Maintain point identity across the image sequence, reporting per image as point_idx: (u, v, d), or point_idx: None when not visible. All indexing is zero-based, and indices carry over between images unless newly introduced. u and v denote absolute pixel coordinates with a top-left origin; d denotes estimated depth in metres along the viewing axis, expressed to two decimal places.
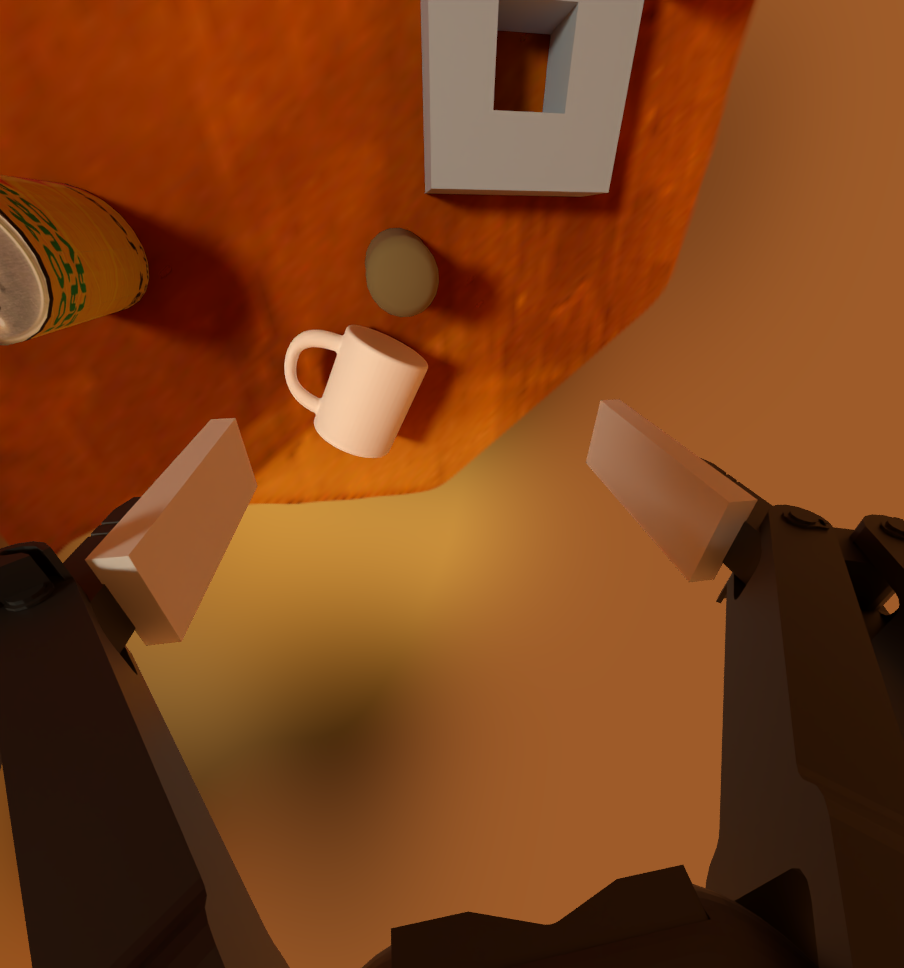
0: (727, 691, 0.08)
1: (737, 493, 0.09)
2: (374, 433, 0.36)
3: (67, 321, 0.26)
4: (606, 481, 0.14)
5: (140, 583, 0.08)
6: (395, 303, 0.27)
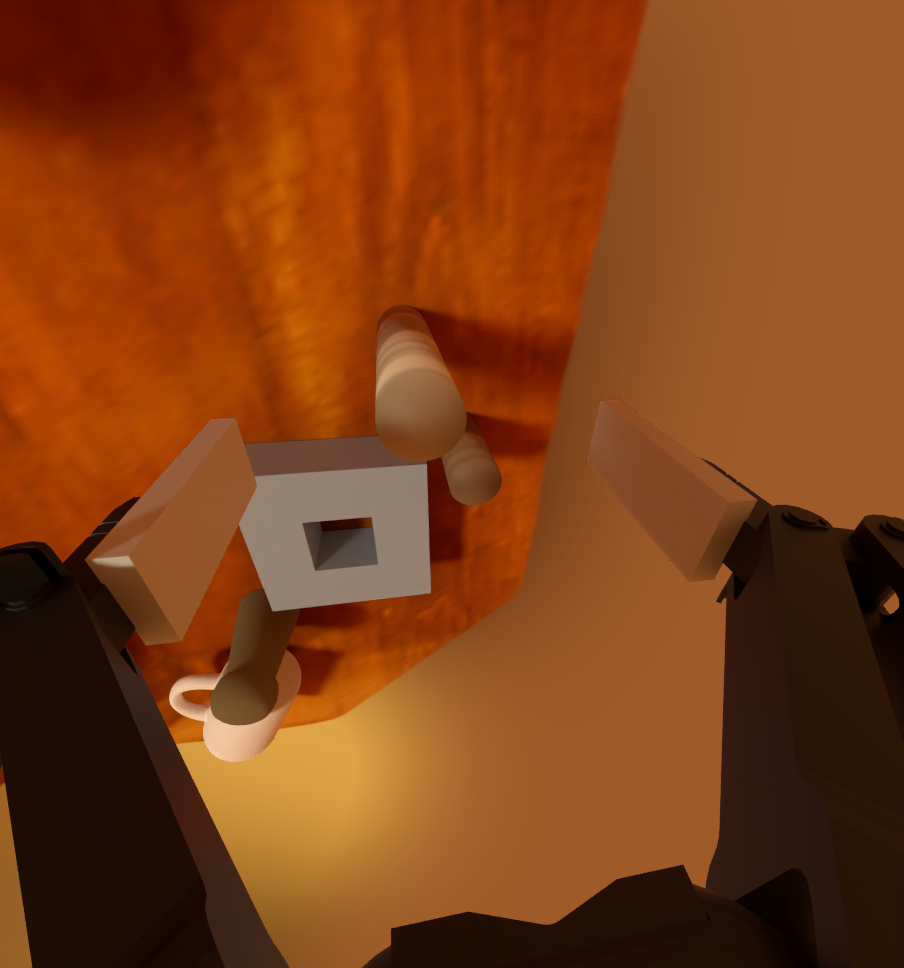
0: (727, 691, 0.08)
1: (737, 493, 0.09)
2: (251, 748, 0.41)
3: None
4: (606, 481, 0.14)
5: (140, 583, 0.08)
6: (236, 724, 0.33)
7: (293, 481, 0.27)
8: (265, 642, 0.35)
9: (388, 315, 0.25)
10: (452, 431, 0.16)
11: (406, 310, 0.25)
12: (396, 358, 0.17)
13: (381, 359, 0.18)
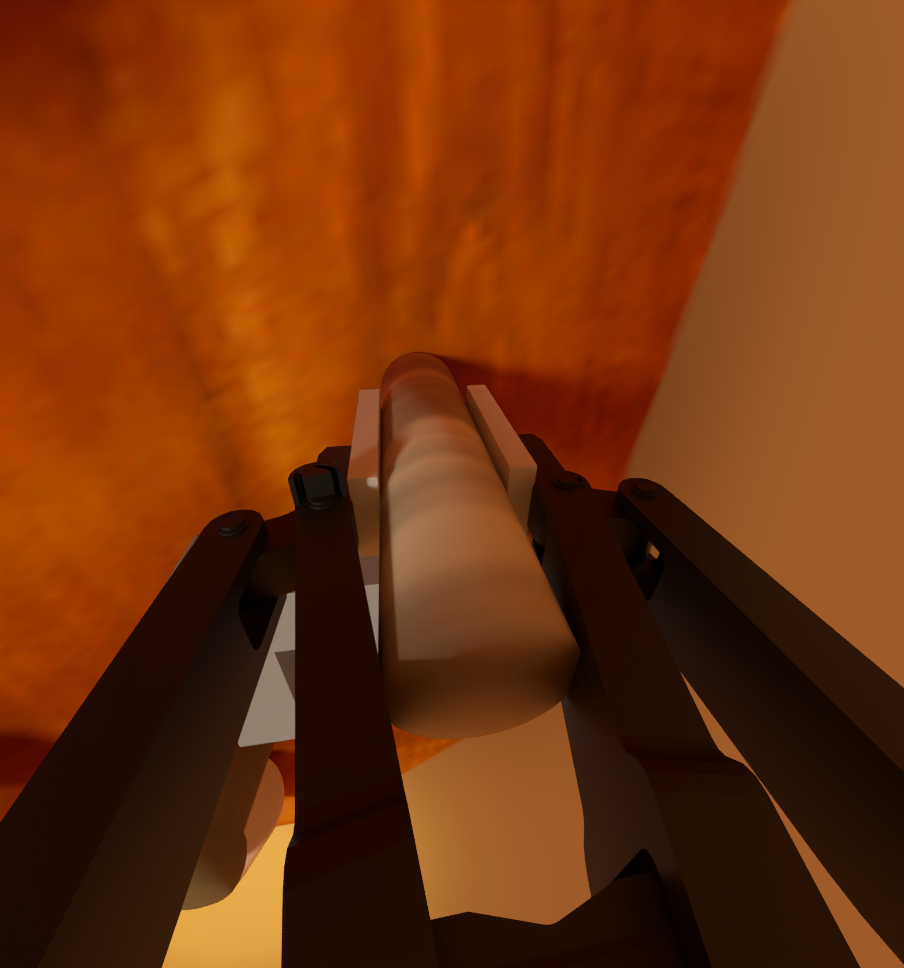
0: None
1: (523, 460, 0.11)
2: None
3: None
4: None
5: (375, 501, 0.10)
6: None
7: None
8: (231, 781, 0.27)
9: (398, 371, 0.16)
10: (547, 693, 0.07)
11: (425, 363, 0.17)
12: (421, 511, 0.08)
13: (389, 485, 0.10)
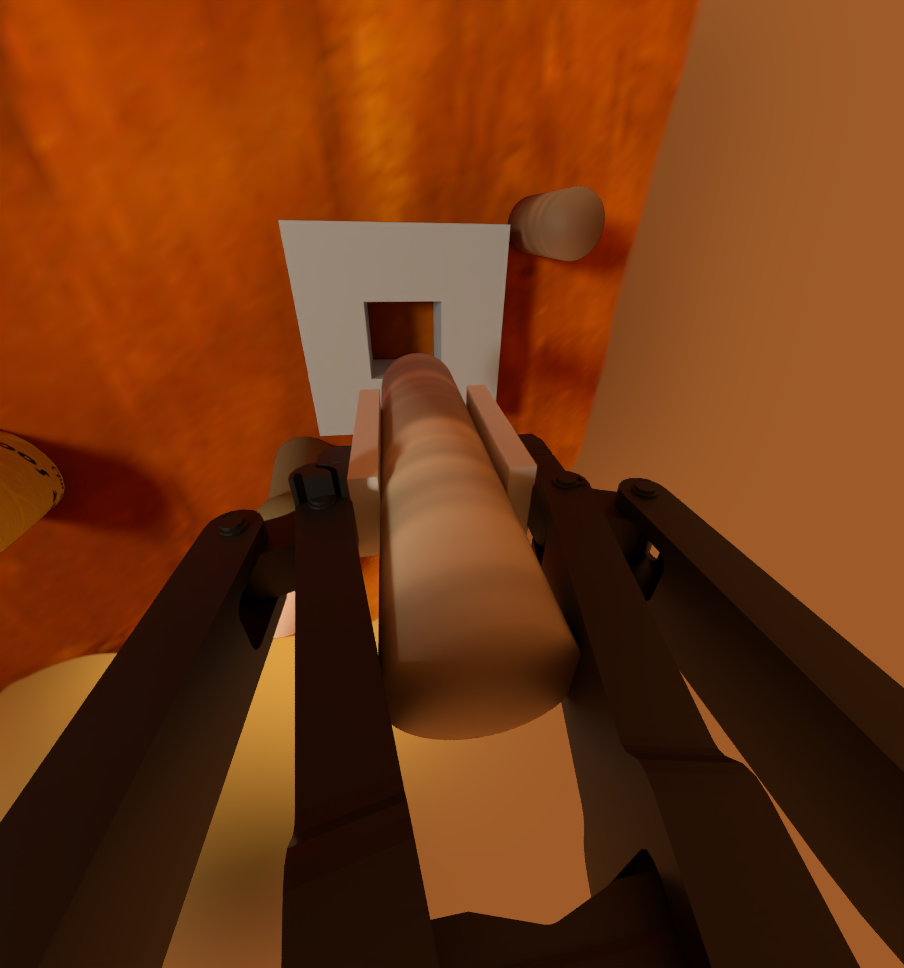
0: None
1: (523, 460, 0.11)
2: (286, 621, 0.38)
3: None
4: None
5: (375, 501, 0.10)
6: None
7: (359, 234, 0.23)
8: None
9: (398, 372, 0.16)
10: (547, 694, 0.07)
11: (425, 364, 0.17)
12: (421, 512, 0.08)
13: (389, 486, 0.10)
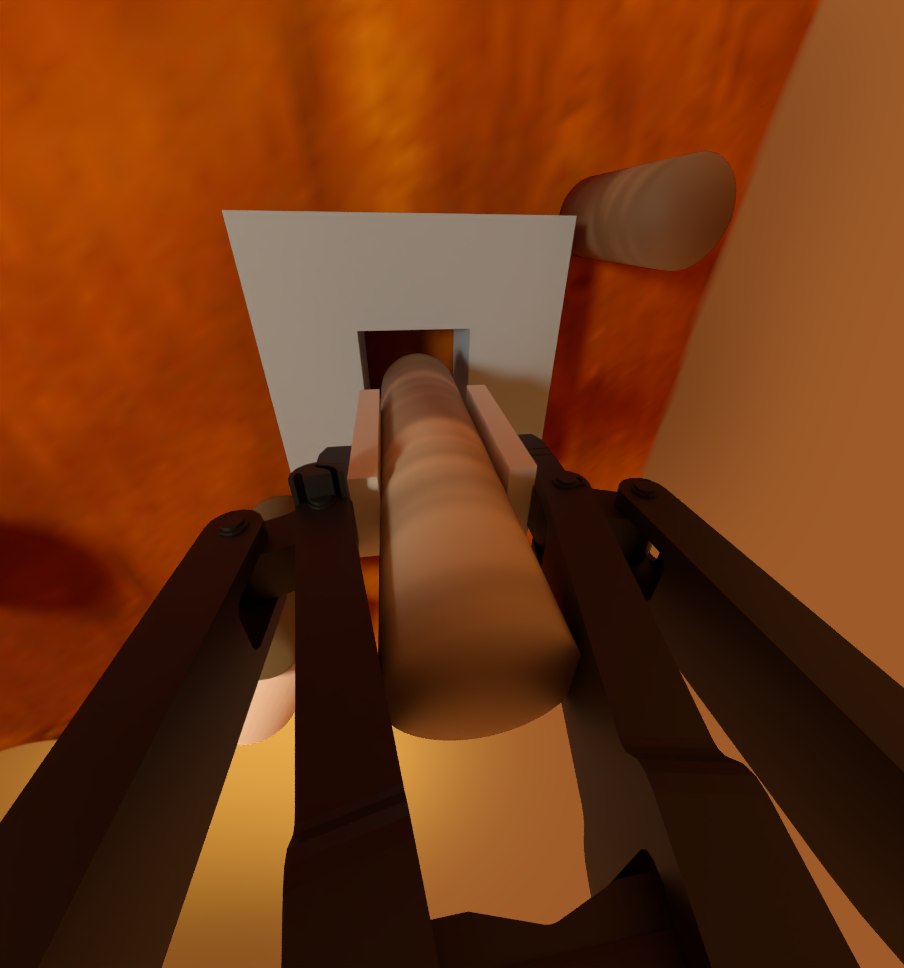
0: None
1: (523, 460, 0.11)
2: (263, 726, 0.29)
3: None
4: None
5: (375, 501, 0.10)
6: None
7: (349, 232, 0.15)
8: None
9: (398, 372, 0.16)
10: (546, 694, 0.07)
11: (425, 364, 0.17)
12: (421, 513, 0.08)
13: (389, 486, 0.10)
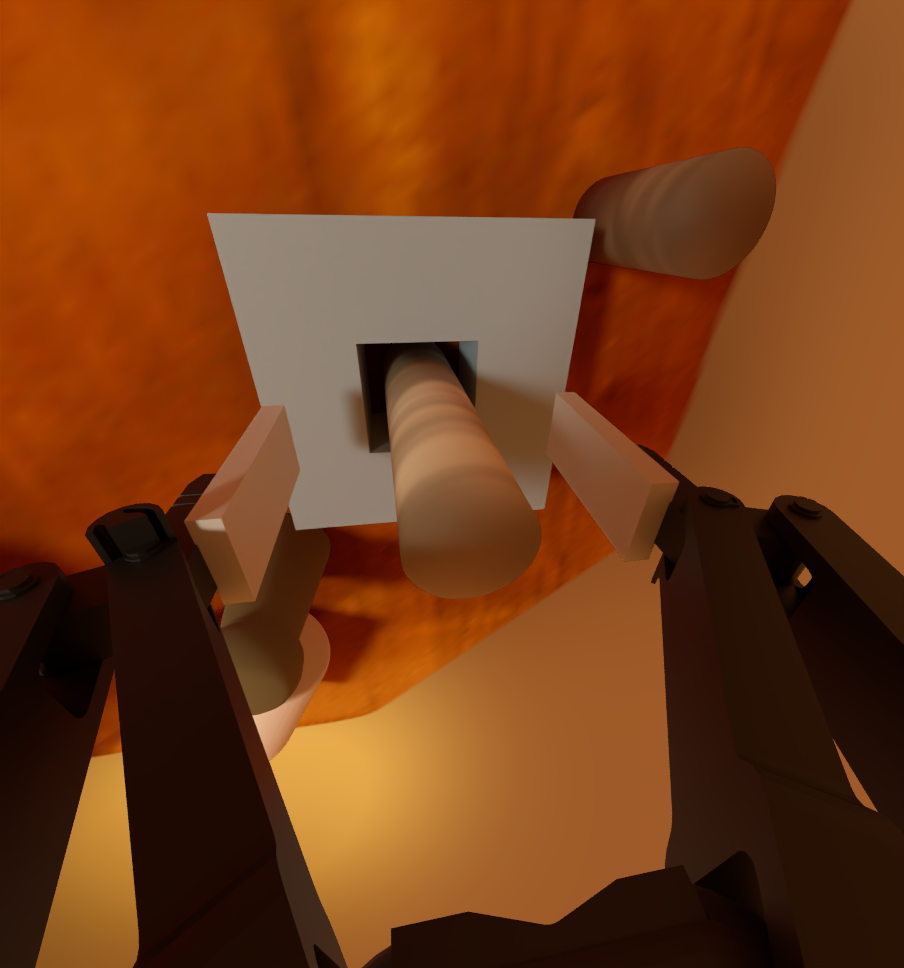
0: (667, 672, 0.08)
1: (662, 476, 0.10)
2: None
3: None
4: (561, 470, 0.15)
5: (227, 544, 0.09)
6: None
7: (347, 237, 0.14)
8: (282, 584, 0.22)
9: (398, 351, 0.19)
10: (517, 558, 0.10)
11: (421, 344, 0.19)
12: (426, 439, 0.11)
13: (399, 429, 0.13)
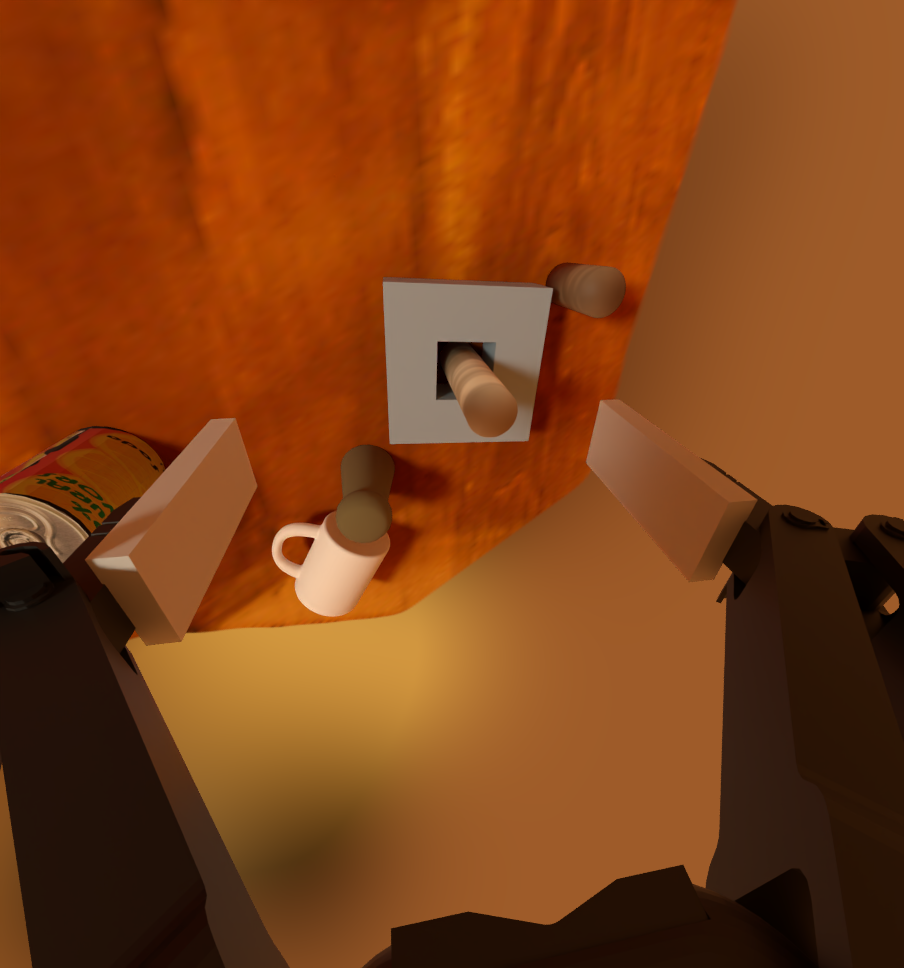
0: (727, 691, 0.08)
1: (737, 493, 0.09)
2: (343, 601, 0.44)
3: None
4: (606, 481, 0.14)
5: (140, 583, 0.08)
6: (357, 539, 0.36)
7: (440, 292, 0.31)
8: (377, 478, 0.39)
9: (452, 347, 0.36)
10: (508, 419, 0.27)
11: (464, 344, 0.37)
12: (474, 377, 0.28)
13: (460, 377, 0.30)
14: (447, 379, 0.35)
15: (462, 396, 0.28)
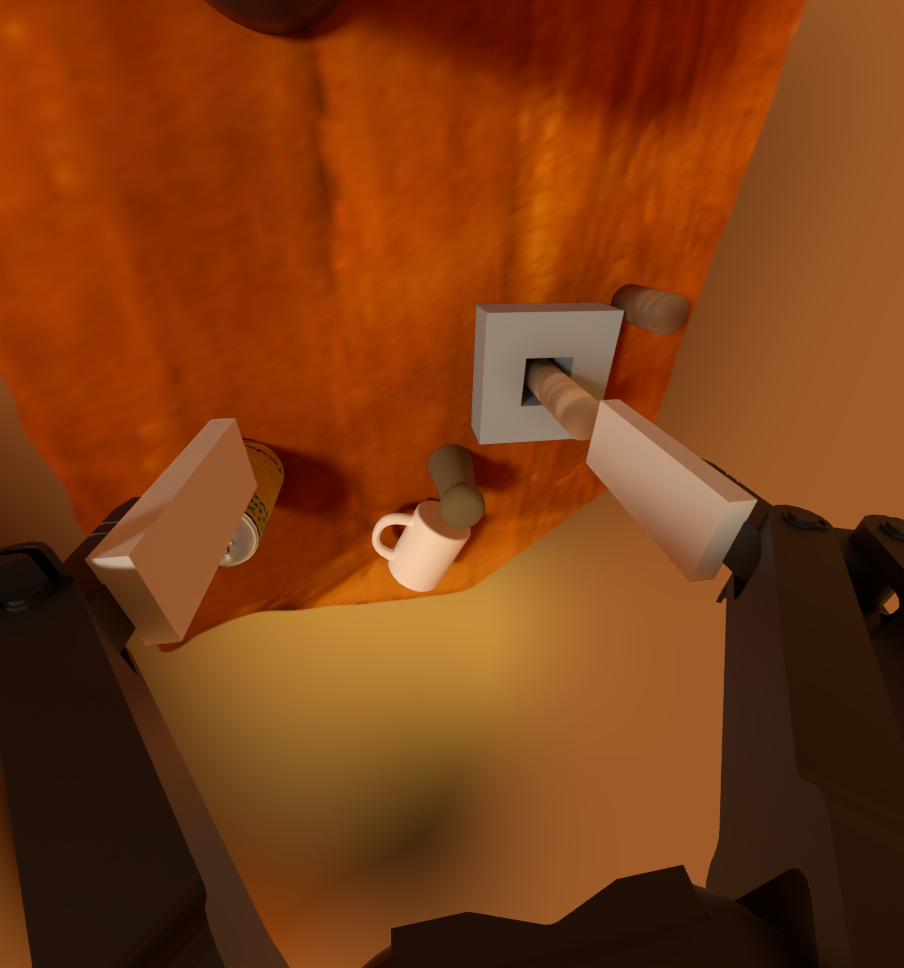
0: (727, 691, 0.08)
1: (737, 493, 0.09)
2: (433, 578, 0.52)
3: None
4: (606, 481, 0.14)
5: (140, 583, 0.08)
6: (458, 525, 0.43)
7: (532, 319, 0.37)
8: (467, 473, 0.46)
9: (531, 360, 0.43)
10: None
11: None
12: (568, 391, 0.35)
13: (552, 390, 0.36)
14: (530, 389, 0.42)
15: (559, 407, 0.34)
